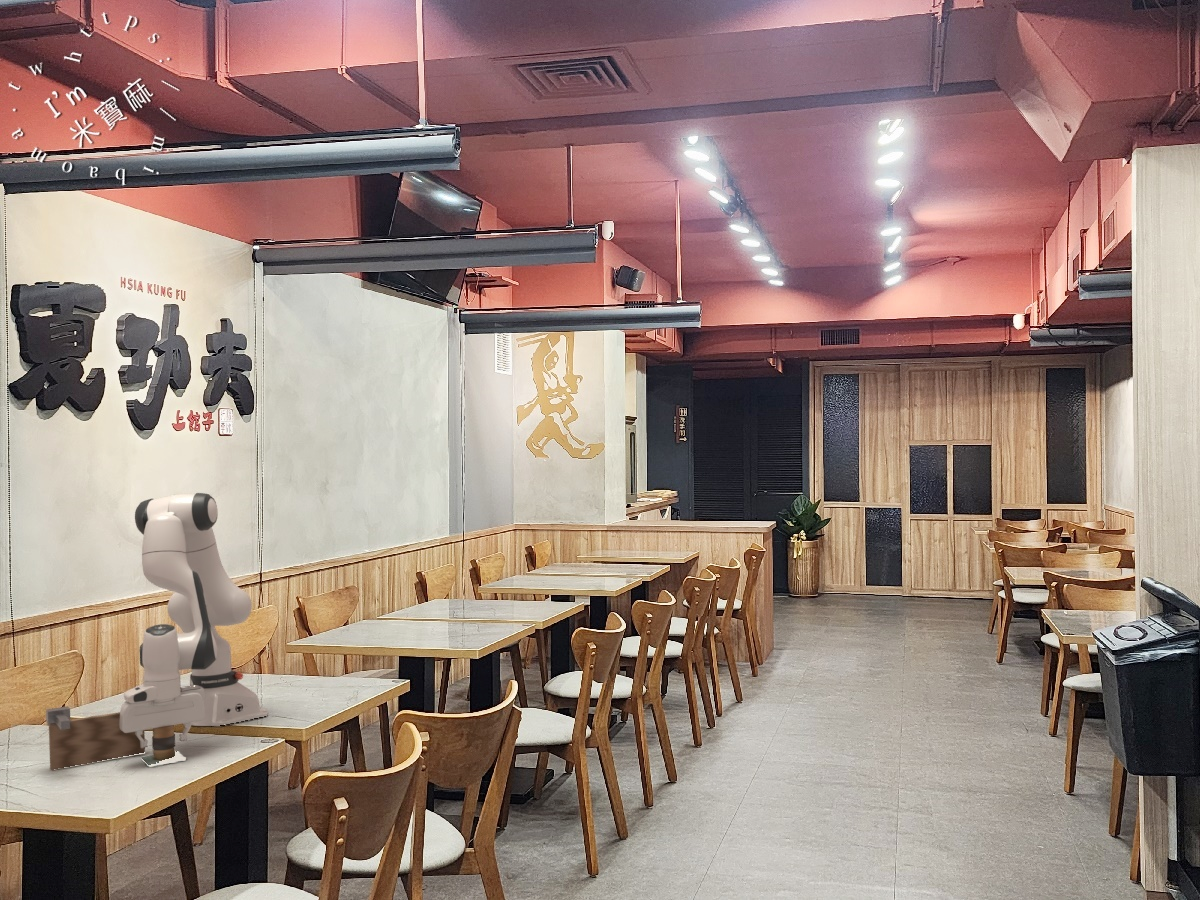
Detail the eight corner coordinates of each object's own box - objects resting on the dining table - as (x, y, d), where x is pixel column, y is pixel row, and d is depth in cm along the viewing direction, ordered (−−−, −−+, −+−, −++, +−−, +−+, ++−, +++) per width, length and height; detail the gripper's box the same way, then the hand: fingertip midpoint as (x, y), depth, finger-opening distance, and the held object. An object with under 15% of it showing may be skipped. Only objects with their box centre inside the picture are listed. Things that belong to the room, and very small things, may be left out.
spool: (172, 753, 274) (171, 722, 274) (177, 757, 269) (176, 726, 269) (150, 757, 271) (149, 725, 271) (155, 761, 266) (154, 729, 266)
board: (143, 752, 279) (142, 708, 279) (145, 754, 277) (143, 710, 277) (50, 768, 266) (48, 722, 266) (51, 770, 264) (49, 724, 264)
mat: (178, 753, 276) (178, 750, 276) (186, 760, 269) (186, 757, 269) (141, 760, 271) (141, 757, 271) (149, 767, 264) (149, 764, 264)
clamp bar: (68, 718, 269) (67, 706, 269) (76, 728, 258) (76, 715, 258) (46, 721, 267) (45, 709, 267) (54, 731, 255) (53, 719, 255)
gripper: (201, 681, 279) (202, 734, 279) (117, 693, 267) (118, 748, 267) (207, 685, 274) (209, 739, 273) (122, 697, 262) (123, 753, 262)
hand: (163, 744), depth 270 cm, fingers open, 8 cm apart
